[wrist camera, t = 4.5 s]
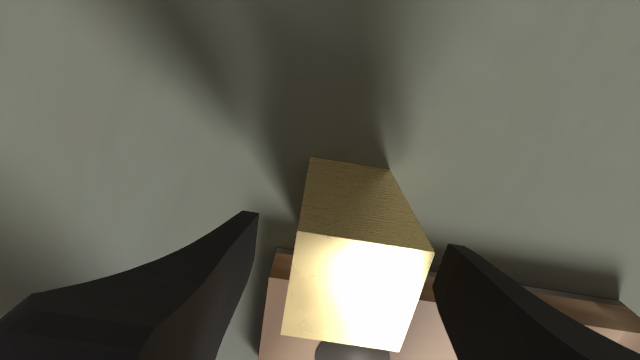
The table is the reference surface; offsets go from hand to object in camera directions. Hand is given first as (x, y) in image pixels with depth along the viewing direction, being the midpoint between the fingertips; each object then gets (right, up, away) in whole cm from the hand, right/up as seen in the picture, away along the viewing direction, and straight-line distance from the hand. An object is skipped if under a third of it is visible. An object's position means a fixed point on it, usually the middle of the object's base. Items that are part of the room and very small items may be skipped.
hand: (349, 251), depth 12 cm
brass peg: (0, +2, +4) cm, 5 cm away
